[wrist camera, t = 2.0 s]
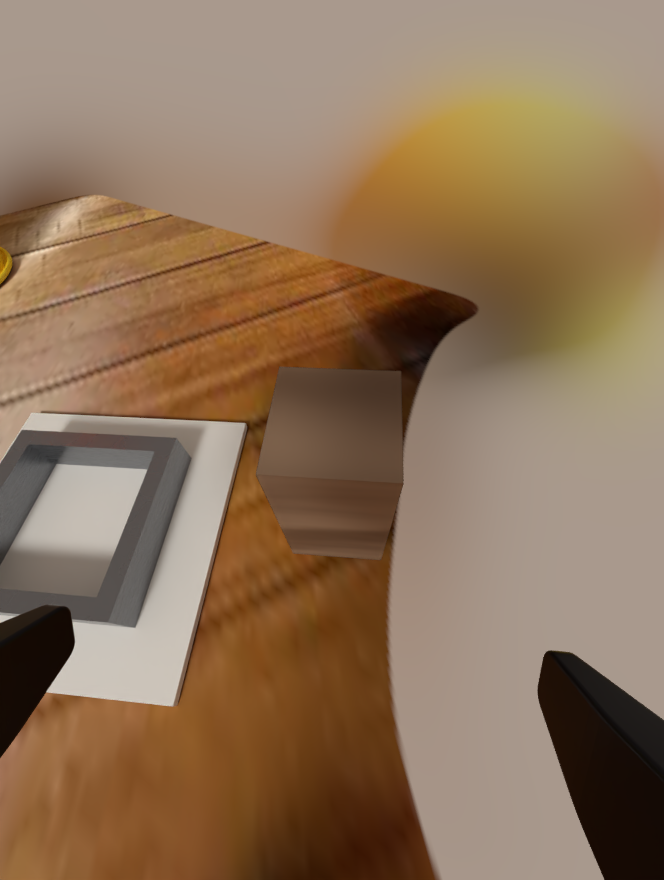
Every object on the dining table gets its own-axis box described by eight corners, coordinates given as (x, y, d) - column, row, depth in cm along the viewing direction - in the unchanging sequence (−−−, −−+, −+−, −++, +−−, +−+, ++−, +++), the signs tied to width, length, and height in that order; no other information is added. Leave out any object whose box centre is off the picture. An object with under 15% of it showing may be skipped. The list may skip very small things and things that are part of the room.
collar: (135, 628, 19) (107, 622, 17) (-43, 610, 19) (-91, 603, 17) (191, 458, 24) (176, 437, 22) (49, 450, 25) (21, 429, 23)
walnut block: (380, 560, 20) (403, 483, 12) (293, 553, 21) (256, 474, 12) (381, 480, 23) (400, 371, 15) (304, 475, 24) (279, 366, 15)
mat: (177, 705, 17) (172, 706, 17) (-125, 671, 19) (-137, 671, 18) (247, 427, 26) (245, 423, 25) (36, 416, 27) (31, 412, 27)
